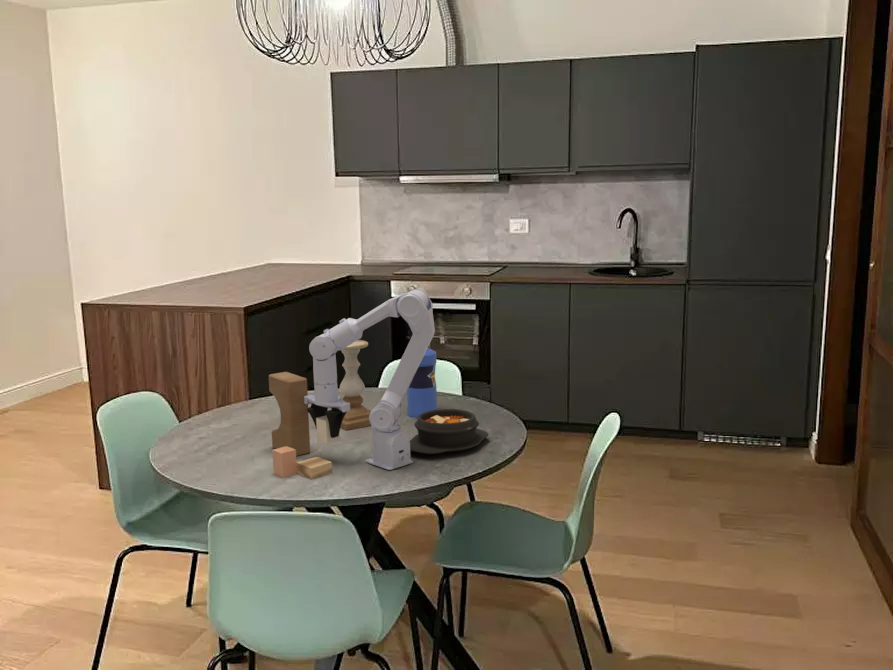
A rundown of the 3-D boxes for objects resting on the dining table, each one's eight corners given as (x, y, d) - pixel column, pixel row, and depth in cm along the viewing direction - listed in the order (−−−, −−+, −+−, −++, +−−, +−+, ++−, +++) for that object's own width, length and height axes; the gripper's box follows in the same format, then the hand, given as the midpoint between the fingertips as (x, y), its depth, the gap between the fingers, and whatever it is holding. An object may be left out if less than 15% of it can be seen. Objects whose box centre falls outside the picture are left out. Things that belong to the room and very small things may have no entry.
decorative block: (271, 447, 215) (267, 374, 212) (290, 443, 219) (287, 371, 215) (291, 457, 207) (287, 381, 203) (311, 453, 210) (307, 378, 207)
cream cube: (339, 440, 203) (338, 417, 202) (326, 444, 201) (325, 420, 200) (330, 437, 206) (329, 414, 205) (317, 440, 203) (316, 417, 202)
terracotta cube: (297, 473, 195) (295, 449, 194) (282, 477, 193) (281, 453, 192) (287, 469, 198) (286, 446, 197) (273, 473, 195) (272, 449, 194)
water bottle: (439, 410, 249) (438, 330, 245) (435, 418, 240) (433, 335, 236) (409, 409, 250) (407, 330, 246) (404, 417, 241) (401, 335, 237)
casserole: (438, 466, 199) (438, 433, 197) (388, 450, 211) (387, 419, 210) (504, 442, 216) (504, 412, 215) (454, 429, 229) (453, 400, 228)
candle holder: (346, 430, 230) (342, 348, 225) (328, 422, 238) (324, 342, 234) (379, 423, 236) (376, 343, 232) (360, 415, 245) (357, 338, 240)
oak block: (332, 473, 195) (331, 462, 195) (311, 480, 191) (311, 468, 191) (317, 468, 200) (317, 456, 199) (297, 474, 195) (296, 462, 195)
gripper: (357, 383, 199) (360, 436, 202) (317, 375, 208) (320, 426, 211) (337, 388, 194) (339, 443, 196) (296, 381, 203) (299, 433, 205)
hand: (328, 435), depth 203 cm, fingers closed on cream cube, 4 cm apart
